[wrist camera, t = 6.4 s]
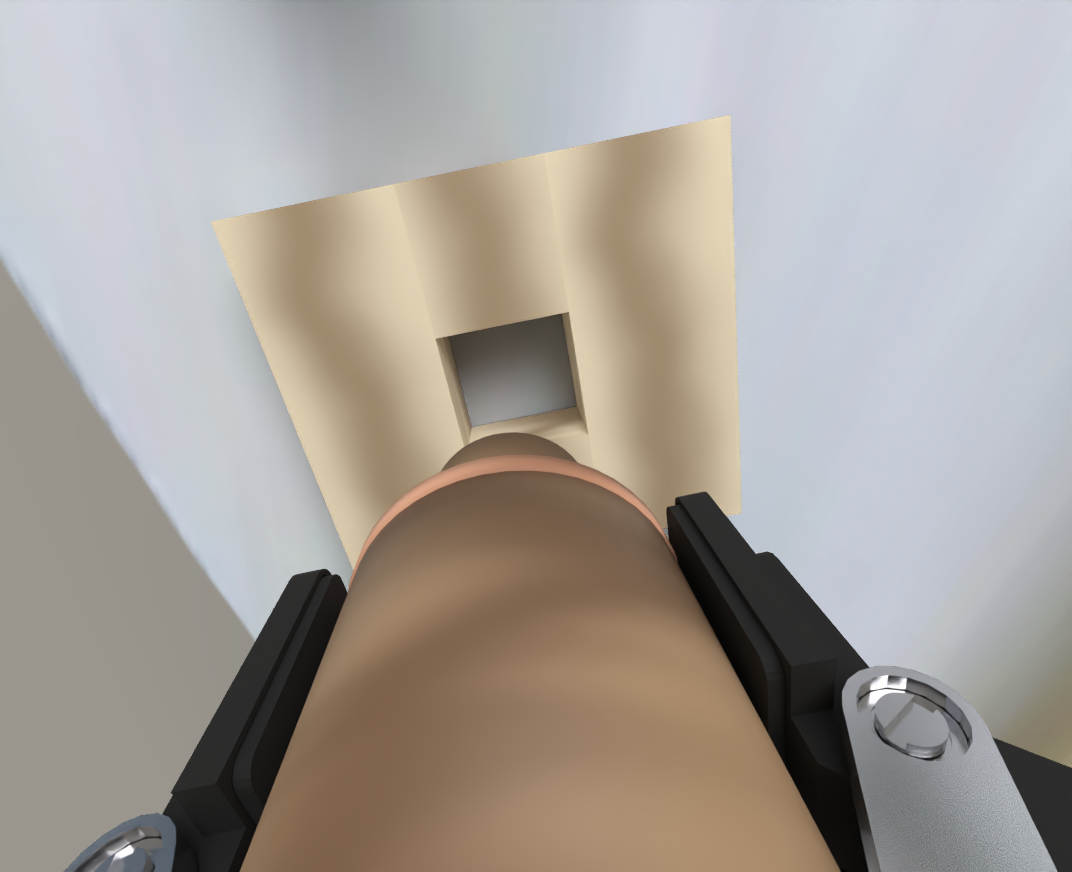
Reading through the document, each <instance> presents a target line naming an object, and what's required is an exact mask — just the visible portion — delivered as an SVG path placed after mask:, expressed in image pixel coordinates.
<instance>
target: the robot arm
mask: <svg viewBox="0 0 1072 872" xmlns="http://www.w3.org/2000/svg"><path fill="white" fill-rule="evenodd" d="M666 516H667V526H668V536H669V542H670V544H671V546H672V547H673V549H674V551H675V554H676V557H677V561H678V565H679V567H680V569H681V570H682V572H683V574H684V576H685V578H686V580H687V582H688V584H689V586H690V587H691V589H692V591H693V593H694V595H695V597H696V599H697V601H698V603H699V604H700V606H701V608H702V610H703V612H704V614H705V616H706V618H707V620H708V621H709V623H710V625H711V627H712V629H713V631H714V633H715V635H716V637H717V638H718V640H719V642H720V644H721V646H722V648H723V650H724V652H725V654H726V655H727V657H728V659H729V661H730V663H731V665H732V667H733V669H734V670H735V672H736V674H737V676H738V678H739V680H740V682H741V684H742V686H743V687H744V689H745V691H746V693H747V695H748V697H749V699H750V701H751V703H752V704H753V706H754V708H755V710H756V712H757V714H758V716H759V718H760V720H761V721H762V723H763V725H764V727H765V729H766V731H767V733H768V735H769V737H770V738H771V740H772V742H773V744H774V746H775V748H776V750H777V752H778V754H779V755H780V757H781V759H782V761H783V763H784V765H785V767H786V769H787V771H788V772H789V774H790V776H791V778H792V780H793V782H794V784H795V786H796V787H797V789H798V791H799V793H800V795H801V797H802V799H803V801H804V803H805V804H806V806H807V808H808V810H809V812H810V814H811V816H812V818H813V820H814V821H815V823H816V825H817V827H818V829H819V831H820V833H821V835H822V837H823V838H824V840H825V842H826V844H827V846H828V848H829V850H830V852H831V854H832V855H833V857H834V859H835V861H836V863H837V865H838V867H839V869H840V871H841V872H1072V768H1070V767H1068V766H1065V765H1062V764H1060V763H1057V762H1055V761H1052V760H1049V759H1047V758H1044V757H1042V756H1039V755H1037V754H1034V753H1031V752H1029V751H1026V750H1024V749H1021V748H1019V747H1016V746H1013V745H1011V744H1008V743H1006V742H1003V741H1001V740H998V739H995V738H993V737H992V736H991V734H990V732H989V730H988V727H987V725H986V724H985V722H984V721H983V719H982V718H981V716H980V715H979V713H978V712H977V710H976V709H975V708H974V706H972V705H971V704H970V703H969V702H968V701H967V700H966V699H965V698H964V697H963V696H961V695H960V694H959V693H958V692H957V691H956V690H954V689H952V688H951V687H949V686H947V685H946V684H944V683H942V682H941V681H939V680H938V679H936V678H933V677H931V676H928V675H926V674H923V673H920V672H918V671H915V670H911V669H906V668H901V667H896V666H874V667H871V668H869V667H868V665H867V664H866V663H865V662H864V661H863V659H862V658H861V657H860V656H859V655H858V653H857V652H856V651H855V650H854V649H853V647H852V646H851V645H850V644H849V643H848V641H847V640H846V639H845V638H844V637H843V636H842V634H841V633H840V632H839V631H838V630H837V628H836V627H835V626H834V625H833V624H832V622H831V621H830V620H829V619H828V618H827V616H826V615H825V614H824V613H823V612H822V610H821V609H820V608H819V607H818V606H817V604H816V603H815V602H814V601H813V600H812V599H811V597H810V596H809V595H808V594H807V593H806V591H805V590H804V589H803V588H802V587H801V585H800V584H799V583H798V582H797V581H796V579H795V578H794V577H793V576H792V575H791V573H790V572H789V571H788V570H787V569H786V567H785V566H784V565H783V564H782V563H781V562H780V560H779V559H778V558H777V557H776V556H775V555H774V554H773V553H770V552H763V553H758V554H755V552H754V551H753V550H752V549H751V547H750V546H749V545H748V543H747V542H746V541H745V540H744V538H743V537H742V536H741V535H740V533H739V532H738V531H737V529H736V528H735V527H734V526H733V524H732V523H731V522H730V520H729V519H728V518H727V517H726V515H725V514H724V513H723V512H722V510H721V509H720V508H719V506H718V505H717V504H716V503H715V501H714V500H713V499H712V497H711V496H710V495H709V494H708V493H707V492H699V493H694V494H689V495H684V496H680V497H676V499H675V505H674V506H669V507H667V509H666ZM347 594H348V593H347V591H346V588H345V586H344V584H343V581H342V579H341V577H340V576H339V575H337V574H335V575H331V573H330V572H329V571H328V570H327V569H321V570H316V571H311V572H306V573H301V574H296V575H294V576H293V577H292V578H291V579H290V581H289V582H288V584H287V586H286V588H285V590H284V591H283V593H282V595H281V597H280V598H279V600H278V602H277V604H276V606H275V607H274V609H273V611H272V613H271V615H270V616H269V618H268V620H267V622H266V624H265V625H264V627H263V629H262V631H261V632H260V634H259V636H258V638H257V640H256V641H255V643H254V645H253V647H252V649H251V651H250V652H249V654H248V656H247V658H246V659H245V661H244V663H243V665H242V666H241V668H240V670H239V672H238V674H237V675H236V677H235V679H234V681H233V682H232V684H231V686H230V688H229V690H228V691H227V693H226V695H225V697H224V699H223V700H222V702H221V704H220V706H219V708H218V709H217V711H216V713H215V715H214V717H213V718H212V720H211V722H210V724H209V725H208V727H207V729H206V731H205V733H204V735H203V736H202V738H201V740H200V741H199V743H198V745H197V747H196V749H195V750H194V752H193V754H192V756H191V758H190V759H189V761H188V763H187V765H186V766H185V769H184V770H183V772H182V774H181V776H180V777H179V779H178V781H177V783H176V784H175V786H174V788H173V790H172V792H171V793H172V794H173V796H172V798H171V800H170V802H169V803H168V805H167V807H166V809H165V811H164V812H163V814H159V813H155V814H146V815H141V816H138V817H136V818H133V819H131V820H128V821H126V822H123V823H121V824H120V825H118V826H117V827H115V828H114V829H112V830H110V831H109V832H107V833H106V834H104V835H102V836H101V837H100V838H99V839H97V840H96V841H95V842H94V843H93V844H91V845H90V846H89V847H88V848H86V849H85V850H84V851H83V852H82V853H81V854H80V855H79V856H78V857H77V858H76V859H75V860H74V861H73V862H72V863H71V864H70V865H69V867H68V868H67V869H66V870H65V871H64V872H240V870H241V867H242V865H243V862H244V859H245V857H246V854H247V852H248V849H249V847H250V844H251V841H252V839H253V836H254V834H255V831H256V828H257V826H258V823H259V821H260V818H261V816H262V813H263V810H264V808H265V805H266V803H267V800H268V798H269V795H270V792H271V790H272V787H273V785H274V782H275V779H276V777H277V774H278V772H279V769H280V767H281V764H282V761H283V759H284V756H285V754H286V751H287V749H288V746H289V743H290V741H291V738H292V736H293V733H294V731H295V728H296V725H297V723H298V720H299V718H300V715H301V712H302V710H303V707H304V705H305V702H306V700H307V697H308V694H309V692H310V689H311V687H312V684H313V682H314V679H315V676H316V674H317V671H318V669H319V666H320V663H321V661H322V658H323V656H324V653H325V651H326V648H327V645H328V643H329V640H330V638H331V635H332V633H333V630H334V627H335V625H336V622H337V620H338V617H339V615H340V612H341V609H342V607H343V604H344V602H345V599H346V596H347Z"/></svg>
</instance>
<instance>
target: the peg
mask: <svg viewBox="0 0 1072 872" xmlns="http://www.w3.org/2000/svg"><path fill="white" fill-rule="evenodd" d="M240 872H841V871H840V869H839V867H838V865H837V863H836V861H835V859H834V857H833V855H832V854H831V852H830V850H829V848H828V846H827V844H826V842H825V840H824V838H823V837H822V835H821V833H820V831H819V829H818V827H817V825H816V823H815V821H814V820H813V818H812V816H811V814H810V812H809V810H808V808H807V806H806V804H805V803H804V801H803V799H802V797H801V795H800V793H799V791H798V789H797V787H796V786H795V784H794V782H793V780H792V778H791V776H790V774H789V772H788V771H787V769H786V767H785V765H784V763H783V761H782V759H781V757H780V755H779V754H778V752H777V750H776V748H775V746H774V744H773V742H772V740H771V738H770V737H769V735H768V733H767V731H766V729H765V727H764V725H763V723H762V721H761V720H760V718H759V716H758V714H757V712H756V710H755V708H754V706H753V704H752V703H751V701H750V699H749V697H748V695H747V693H746V691H745V689H744V687H743V686H742V684H741V682H740V680H739V678H738V676H737V674H736V672H735V670H734V669H733V667H732V665H731V663H730V661H729V659H728V657H727V655H726V654H725V652H724V650H723V648H722V646H721V644H720V642H719V640H718V638H717V637H716V635H715V633H714V631H713V629H712V627H711V625H710V623H709V621H708V620H707V618H706V616H705V614H704V612H703V610H702V608H701V606H700V604H699V603H698V601H697V599H696V597H695V595H694V593H693V591H692V589H691V587H690V586H689V584H688V582H687V580H686V578H685V576H684V574H683V572H682V570H681V569H680V567H679V565H678V561H677V557H676V554H675V551H674V549H673V547H672V546H671V544H670V542H669V540H668V538H667V536H666V534H665V533H664V531H663V529H662V527H661V525H660V524H659V522H658V520H657V518H656V517H655V516H654V515H653V513H652V512H651V511H650V509H649V508H648V507H647V506H646V504H645V503H644V502H643V501H642V500H641V499H639V498H638V497H637V496H636V495H635V494H634V493H633V492H632V491H631V490H629V489H628V488H627V487H625V486H624V485H622V484H621V483H620V482H618V481H617V480H615V479H614V478H612V477H610V476H608V475H606V474H604V473H602V472H600V471H598V470H596V469H594V468H591V467H588V466H585V465H582V464H580V463H578V462H577V461H576V460H575V459H574V458H573V456H572V455H570V454H569V453H568V452H567V451H566V450H565V449H563V448H562V447H561V446H559V445H558V444H556V443H554V442H552V441H550V440H548V439H545V438H543V437H540V436H537V435H532V434H528V433H518V432H509V433H499V434H493V435H490V436H486V437H483V438H481V439H478V440H476V441H473V442H472V443H470V444H468V445H466V446H465V447H463V448H462V449H461V450H459V451H458V452H457V453H456V454H454V455H453V456H452V457H451V458H450V459H449V461H448V462H447V463H446V464H445V466H444V467H443V469H442V470H441V472H439V473H437V474H435V475H433V476H431V477H430V478H428V479H426V480H424V481H422V482H421V483H419V484H417V485H416V486H414V487H413V488H412V489H410V490H409V491H408V492H406V493H405V494H404V495H402V496H401V497H400V498H399V499H398V500H397V501H396V502H395V503H394V504H392V505H391V506H390V507H389V508H388V509H387V510H386V511H385V512H384V514H383V515H382V516H381V518H380V519H379V520H378V522H377V523H376V524H375V526H374V527H373V528H372V530H371V532H370V534H369V536H368V537H367V539H366V541H365V543H364V545H363V547H362V550H361V552H360V555H359V557H358V560H357V562H356V565H355V568H354V571H353V574H352V576H351V579H350V584H349V589H348V594H347V596H346V599H345V602H344V604H343V607H342V609H341V612H340V615H339V617H338V620H337V622H336V625H335V627H334V630H333V633H332V635H331V638H330V640H329V643H328V645H327V648H326V651H325V653H324V656H323V658H322V661H321V663H320V666H319V669H318V671H317V674H316V676H315V679H314V682H313V684H312V687H311V689H310V692H309V694H308V697H307V700H306V702H305V705H304V707H303V710H302V712H301V715H300V718H299V720H298V723H297V725H296V728H295V731H294V733H293V736H292V738H291V741H290V743H289V746H288V749H287V751H286V754H285V756H284V759H283V761H282V764H281V767H280V769H279V772H278V774H277V777H276V779H275V782H274V785H273V787H272V790H271V792H270V795H269V798H268V800H267V803H266V805H265V808H264V810H263V813H262V816H261V818H260V821H259V823H258V826H257V828H256V831H255V834H254V836H253V839H252V841H251V844H250V847H249V849H248V852H247V854H246V857H245V859H244V862H243V865H242V867H241V870H240Z"/></svg>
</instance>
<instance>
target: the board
mask: <svg viewBox="0 0 1072 872" xmlns="http://www.w3.org/2000/svg"><path fill="white" fill-rule="evenodd" d="M211 224H212V226H213V228H214V231H215V233H216V236H217V238H218V241H219V243H220V246H221V248H222V250H223V253H224V255H225V258H226V260H227V263H228V265H229V267H230V270H231V272H232V275H233V277H234V280H235V282H236V285H237V287H238V289H239V292H240V294H241V297H242V299H243V302H244V304H245V307H246V309H247V311H248V314H249V316H250V319H251V321H252V324H253V326H254V329H255V331H256V333H257V336H258V338H259V341H260V343H261V346H262V348H263V351H264V353H265V355H266V358H267V360H268V363H269V365H270V368H271V370H272V373H273V375H274V377H275V380H276V382H277V385H278V387H279V390H280V392H281V395H282V397H283V399H284V402H285V404H286V407H287V409H288V412H289V414H290V417H291V419H292V421H293V424H294V426H295V429H296V431H297V434H298V436H299V439H300V441H301V443H302V446H303V448H304V451H305V453H306V456H307V458H308V461H309V463H310V465H311V468H312V470H313V473H314V475H315V478H316V480H317V483H318V485H319V487H320V490H321V492H322V495H323V497H324V500H325V502H326V505H327V507H328V509H329V512H330V514H331V517H332V519H333V522H334V524H335V527H336V529H337V531H338V534H339V536H340V539H341V541H342V544H343V546H344V549H345V551H346V553H347V556H348V558H349V561H350V563H351V566H352V568H353V571H354V568H355V565H356V562H357V560H358V557H359V555H360V552H361V550H362V547H363V545H364V543H365V541H366V539H367V537H368V536H369V534H370V532H371V530H372V528H373V527H374V526H375V524H376V523H377V522H378V520H379V519H380V518H381V516H382V515H383V514H384V512H385V511H386V510H387V509H388V508H389V507H390V506H391V505H392V504H394V503H395V502H396V501H397V500H398V499H399V498H400V497H401V496H402V495H404V494H405V493H406V492H408V491H409V490H410V489H412V488H413V487H414V486H416V485H417V484H419V483H421V482H422V481H424V480H426V479H428V478H430V477H431V476H433V475H435V474H437V473H439V472H441V470H442V469H443V467H444V466H445V464H446V463H447V462H448V461H449V459H450V458H451V457H452V456H453V455H454V454H456V453H457V452H458V451H459V450H461V449H462V448H463V447H465V446H466V445H468V444H470V443H472V442H473V441H476V440H478V439H481V438H483V437H486V436H490V435H493V434H499V433H509V432H518V433H528V434H532V435H537V436H540V437H543V438H545V439H548V440H550V441H552V442H554V443H556V444H558V445H559V446H561V447H562V448H563V449H565V450H566V451H567V452H568V453H569V454H570V455H572V456H573V458H574V459H575V460H576V461H577V462H578V463H580V464H582V465H585V466H588V467H591V468H594V469H596V470H598V471H600V472H602V473H604V474H606V475H608V476H610V477H612V478H614V479H615V480H617V481H618V482H620V483H621V484H622V485H624V486H625V487H627V488H628V489H629V490H631V491H632V492H633V493H634V494H635V495H636V496H637V497H638V498H639V499H641V500H642V501H643V502H644V503H645V504H646V506H647V507H648V508H649V509H650V511H651V512H652V513H653V515H654V516H655V517H656V518H657V520H658V522H659V524H660V525H661V527H662V529H663V528H668V526H667V516H666V509H667V507H669V506H674V505H675V499H676V497H680V496H684V495H689V494H694V493H699V492H707V493H708V494H709V495H710V496H711V497H712V499H713V500H714V501H715V503H716V504H717V505H718V506H719V508H720V509H721V510H722V512H723V513H724V514H725V515H726V516H730V515H735V514H741V513H742V507H741V472H740V436H739V401H738V365H737V330H736V294H735V259H734V223H733V188H732V152H731V117H730V115H728V116H723V117H718V118H713V119H709V120H704V121H699V122H694V123H689V124H684V125H679V126H674V127H670V128H665V129H660V130H655V131H650V132H645V133H640V134H635V135H631V136H626V137H621V138H616V139H611V140H606V141H601V142H597V143H592V144H587V145H582V146H577V147H572V148H567V149H562V150H558V151H553V152H548V153H543V154H538V155H533V156H528V157H524V158H519V159H514V160H509V161H504V162H499V163H494V164H489V165H485V166H480V167H475V168H470V169H465V170H460V171H455V172H451V173H446V174H441V175H436V176H431V177H426V178H421V179H416V180H412V181H407V182H402V183H397V184H392V185H387V186H382V187H377V188H373V189H368V190H363V191H358V192H353V193H348V194H343V195H339V196H334V197H329V198H324V199H319V200H314V201H309V202H304V203H300V204H295V205H290V206H285V207H280V208H275V209H270V210H266V211H261V212H256V213H251V214H246V215H241V216H236V217H231V218H227V219H222V220H217V221H212V222H211ZM561 313H562V318H563V324H564V330H565V336H566V342H567V348H568V354H569V360H570V366H571V372H572V378H573V385H574V391H575V397H576V403H577V406H576V407H571V408H566V409H561V410H556V411H551V412H546V413H541V414H536V415H531V416H525V417H520V418H515V419H510V420H505V421H500V422H495V423H490V424H485V425H480V426H475V427H471V423H470V419H469V415H468V411H467V407H466V404H465V400H464V396H463V392H462V388H461V384H460V380H459V376H458V372H457V369H456V365H455V361H454V357H453V353H452V349H451V345H450V341H449V338H448V336H452V335H457V334H462V333H467V332H472V331H477V330H481V329H486V328H491V327H496V326H501V325H506V324H511V323H516V322H521V321H526V320H531V319H536V318H541V317H546V316H551V315H556V314H561Z"/></svg>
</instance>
